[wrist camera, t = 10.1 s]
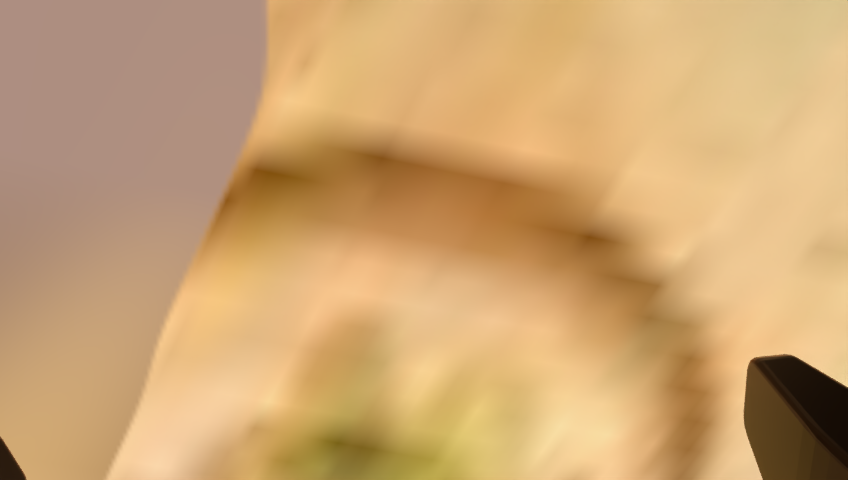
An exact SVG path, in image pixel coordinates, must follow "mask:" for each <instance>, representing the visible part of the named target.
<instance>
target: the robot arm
mask: <svg viewBox="0 0 848 480" xmlns="http://www.w3.org/2000/svg"><path fill="white" fill-rule="evenodd" d="M744 424H745V429H746V433H747V436H748V439H749V442H750V445H751V448H752V451H753V453H754V456H755V459H756V462H757V464H758V467H759V470H760V473H761V476H762V478H763V480H848V387H846V386H845V385H843V384H841V383H839V382H838V381H836V380H834V379H833V378H831V377H829V376H828V375H826V374H824V373H822V372H821V371H819V370H817V369H816V368H814V367H812V366H811V365H809V364H807V363H806V362H804V361H802V360H800V359H799V358H797V357H795V356H792V355H786V354H783V355H773V356H763V357H756V358H754V359H752V360H751V361H750V363H749V365H748V369H747V379H746V391H745V403H744ZM0 480H26V477H25V474H24V473H23V471H22V469H21V468H20V466H19V465H18V463H17V462H16V460H15V458H14V457H13V455H12V454H11V452H10V450H9V449H8V447H7V446H6V444H5V442H4V441H3V439H2V438H1V437H0Z"/></svg>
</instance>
